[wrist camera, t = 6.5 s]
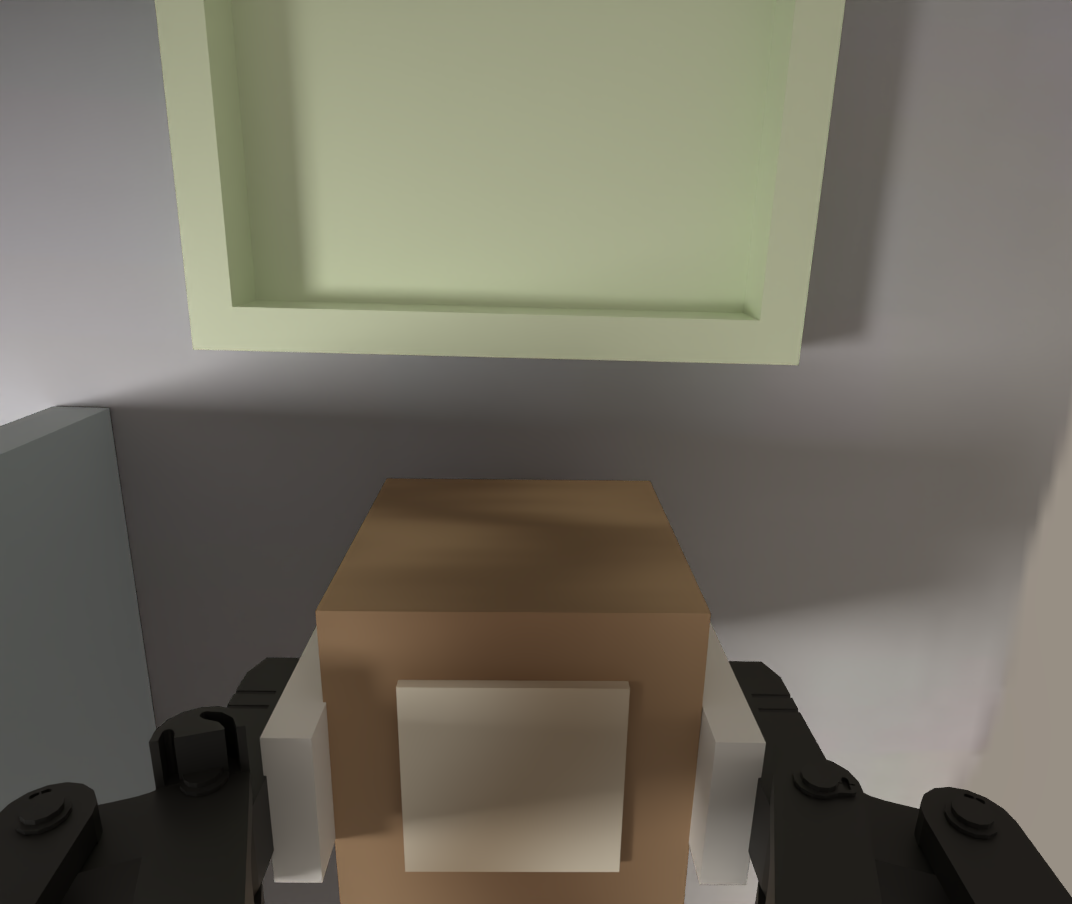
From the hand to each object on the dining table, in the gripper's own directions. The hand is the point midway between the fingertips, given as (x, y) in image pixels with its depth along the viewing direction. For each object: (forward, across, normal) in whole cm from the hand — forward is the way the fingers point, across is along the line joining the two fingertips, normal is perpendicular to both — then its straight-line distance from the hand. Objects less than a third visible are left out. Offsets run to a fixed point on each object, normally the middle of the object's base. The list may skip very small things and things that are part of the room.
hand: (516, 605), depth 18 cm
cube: (0, 0, 0) cm, 0 cm away
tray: (+4, 0, +13) cm, 13 cm away
